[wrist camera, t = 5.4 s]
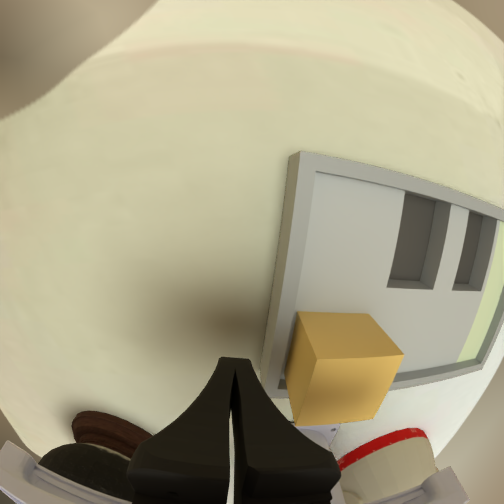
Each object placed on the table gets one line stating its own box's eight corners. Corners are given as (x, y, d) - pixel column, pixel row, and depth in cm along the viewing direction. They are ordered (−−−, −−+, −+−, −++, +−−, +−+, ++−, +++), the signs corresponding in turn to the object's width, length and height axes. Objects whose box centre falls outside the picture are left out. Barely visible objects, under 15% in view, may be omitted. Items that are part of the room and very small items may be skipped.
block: (349, 372, 16) (373, 418, 12) (283, 373, 16) (295, 426, 11) (368, 313, 15) (404, 354, 11) (297, 310, 15) (317, 359, 10)
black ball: (139, 480, 23) (119, 568, 8) (53, 422, 20) (6, 509, 6) (206, 459, 21) (197, 584, 7) (95, 385, 18) (25, 520, 4)
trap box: (465, 354, 19) (481, 369, 16) (259, 368, 18) (262, 397, 15) (506, 215, 16) (529, 221, 13) (289, 156, 15) (300, 150, 12)
